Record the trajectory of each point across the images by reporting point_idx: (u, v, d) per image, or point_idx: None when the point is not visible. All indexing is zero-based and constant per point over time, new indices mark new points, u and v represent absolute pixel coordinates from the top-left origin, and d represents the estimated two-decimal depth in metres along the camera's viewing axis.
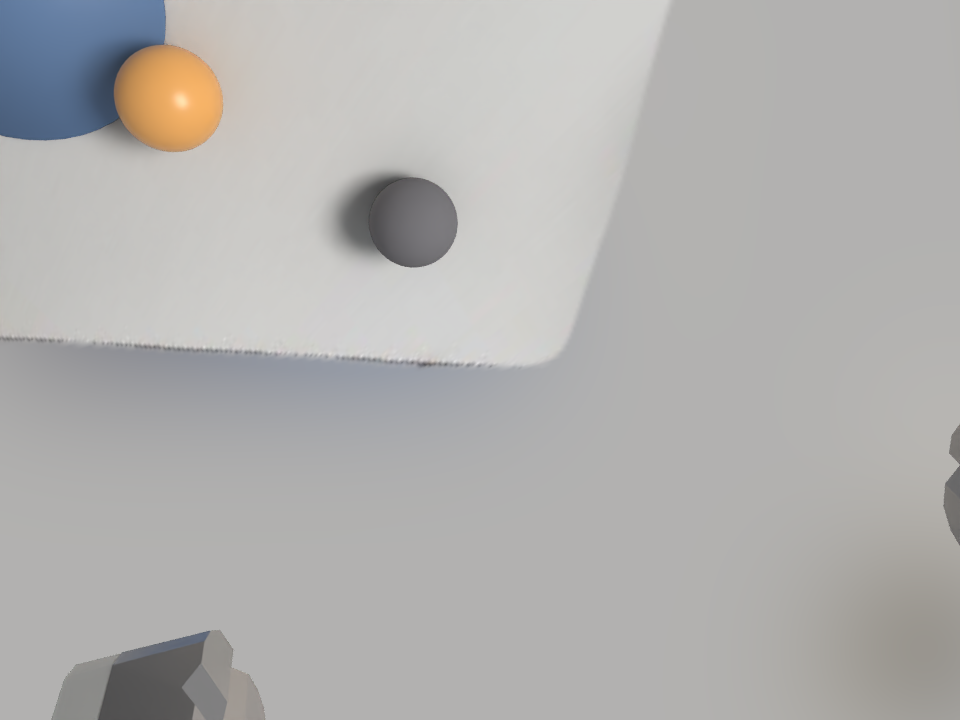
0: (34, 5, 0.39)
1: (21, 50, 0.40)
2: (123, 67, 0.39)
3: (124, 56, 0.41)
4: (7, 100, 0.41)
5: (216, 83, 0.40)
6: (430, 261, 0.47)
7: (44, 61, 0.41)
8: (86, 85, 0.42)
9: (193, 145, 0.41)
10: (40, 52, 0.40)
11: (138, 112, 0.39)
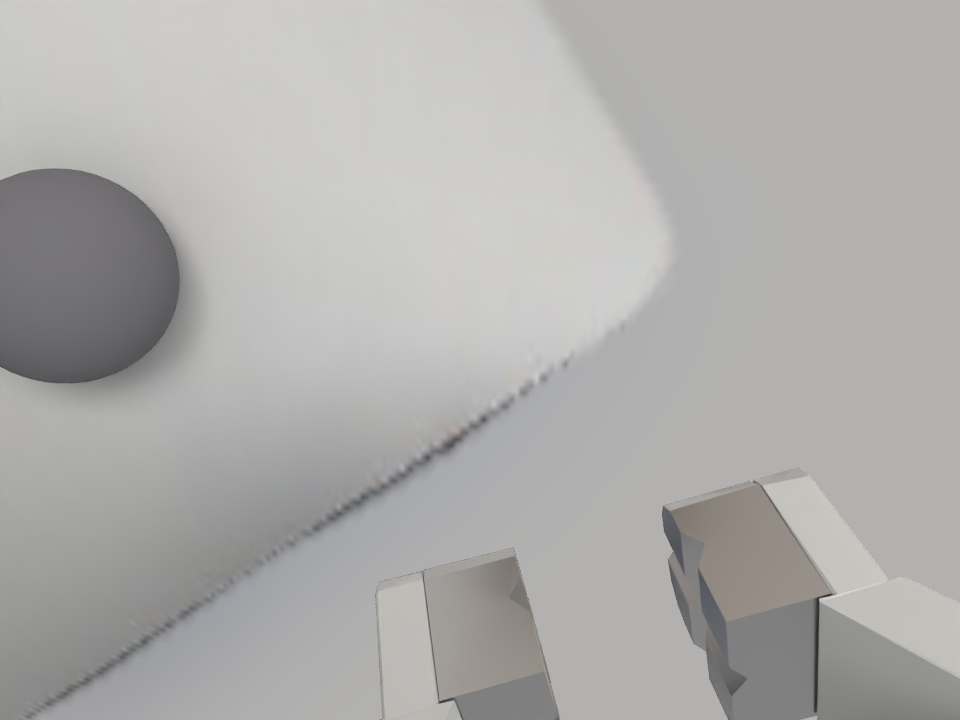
0: None
1: None
2: None
3: None
4: None
5: None
6: (122, 331, 0.18)
7: None
8: None
9: None
10: None
11: None
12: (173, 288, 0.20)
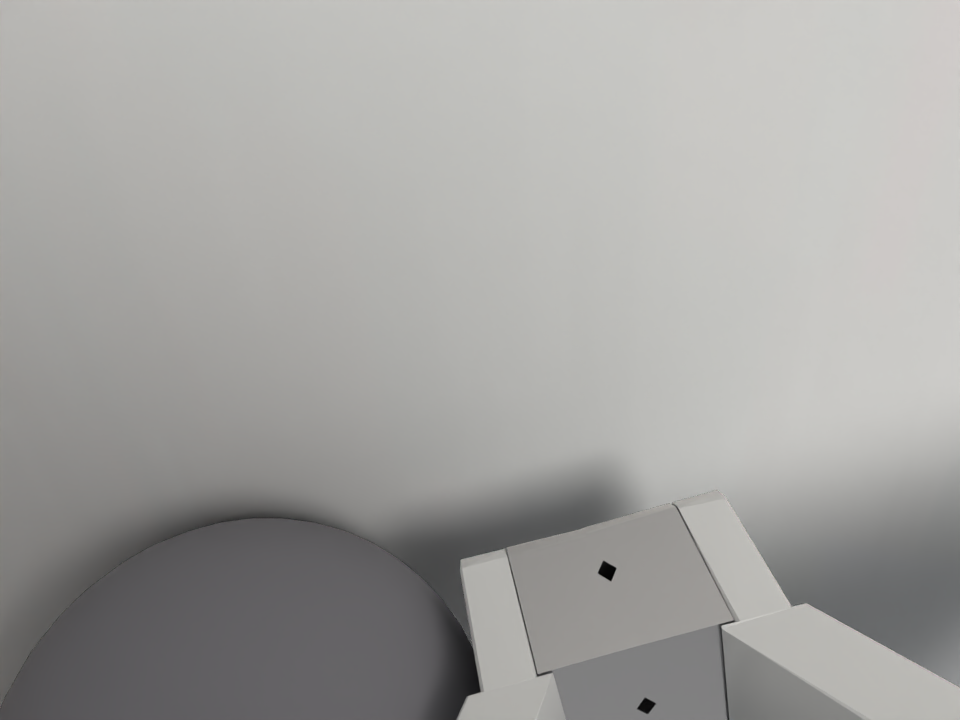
0: None
1: None
2: None
3: None
4: None
5: None
6: None
7: None
8: None
9: None
10: None
11: None
12: None
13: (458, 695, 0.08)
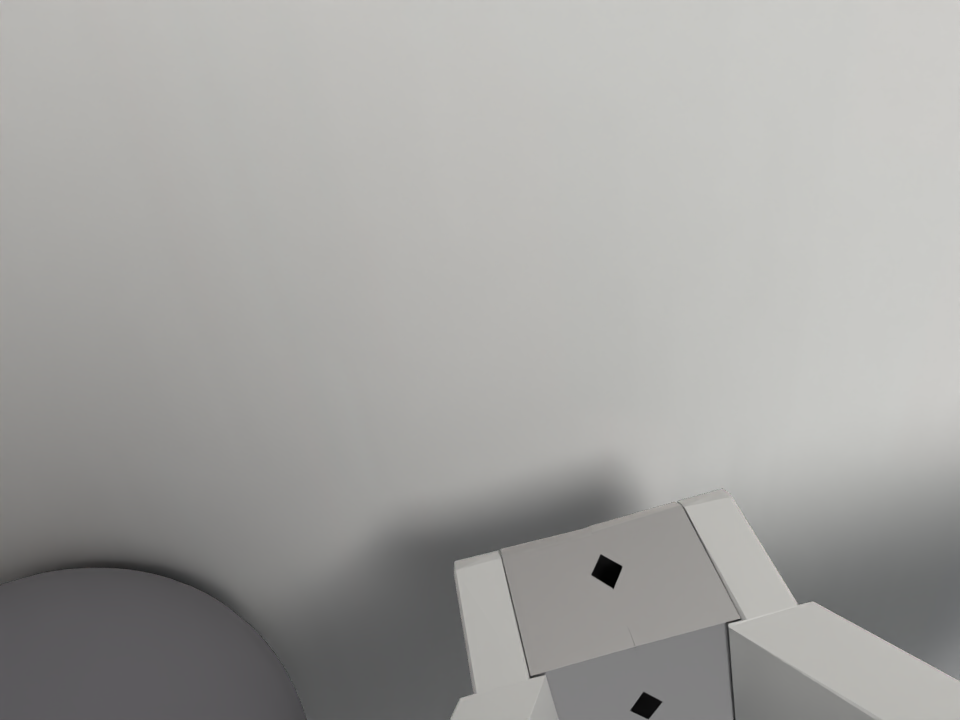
0: None
1: None
2: None
3: None
4: None
5: None
6: None
7: None
8: None
9: None
10: None
11: None
12: None
13: None
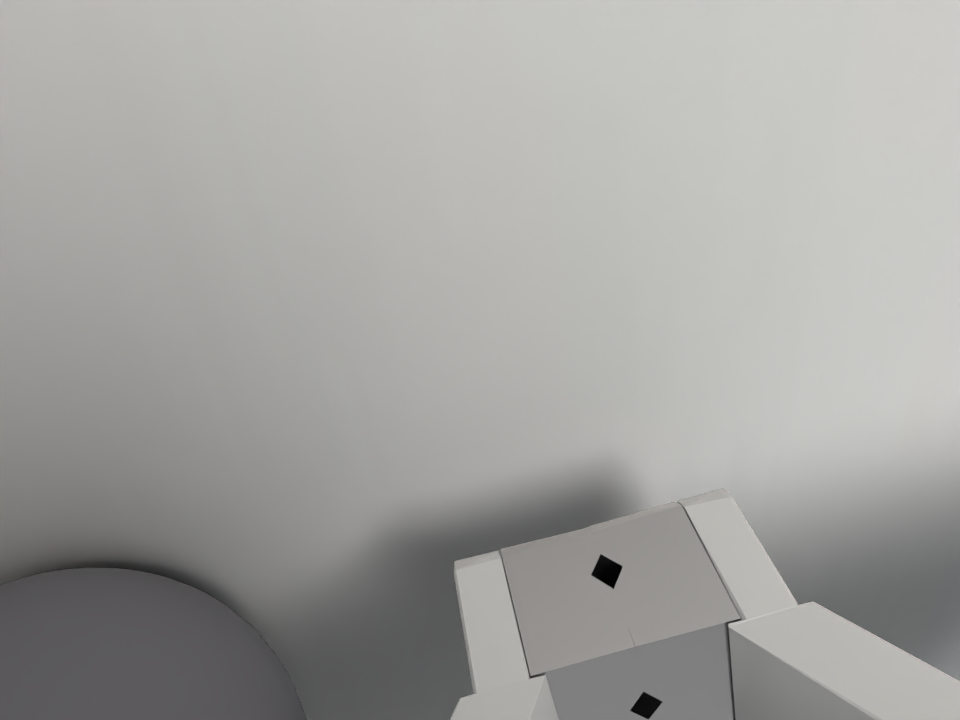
0: None
1: None
2: None
3: None
4: None
5: None
6: None
7: None
8: None
9: None
10: None
11: None
12: None
13: None
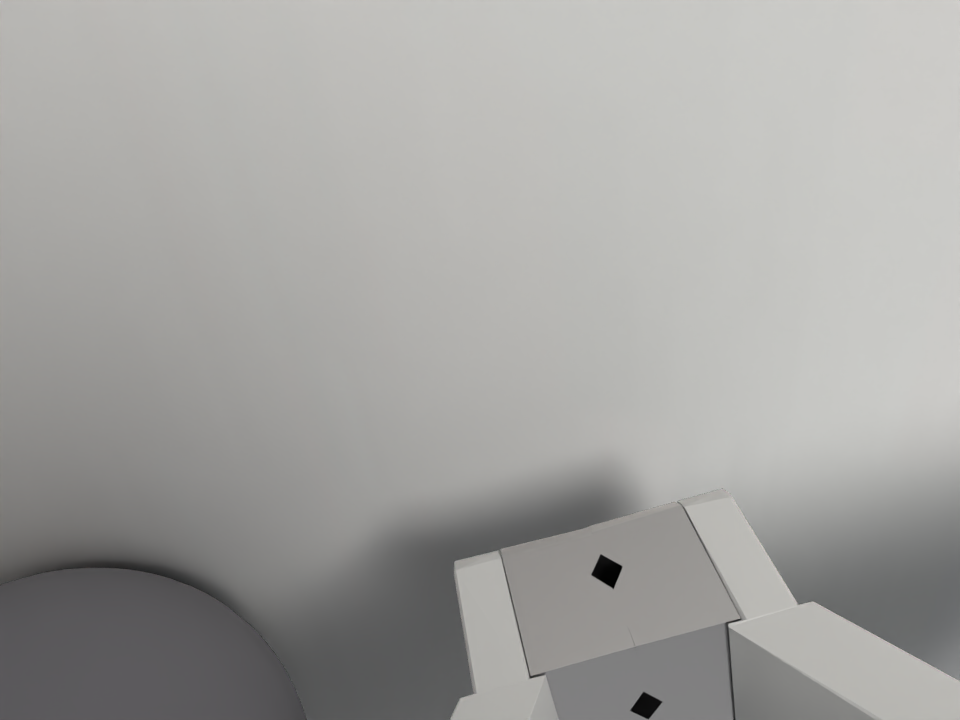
0: None
1: None
2: None
3: None
4: None
5: None
6: None
7: None
8: None
9: None
10: None
11: None
12: None
13: None
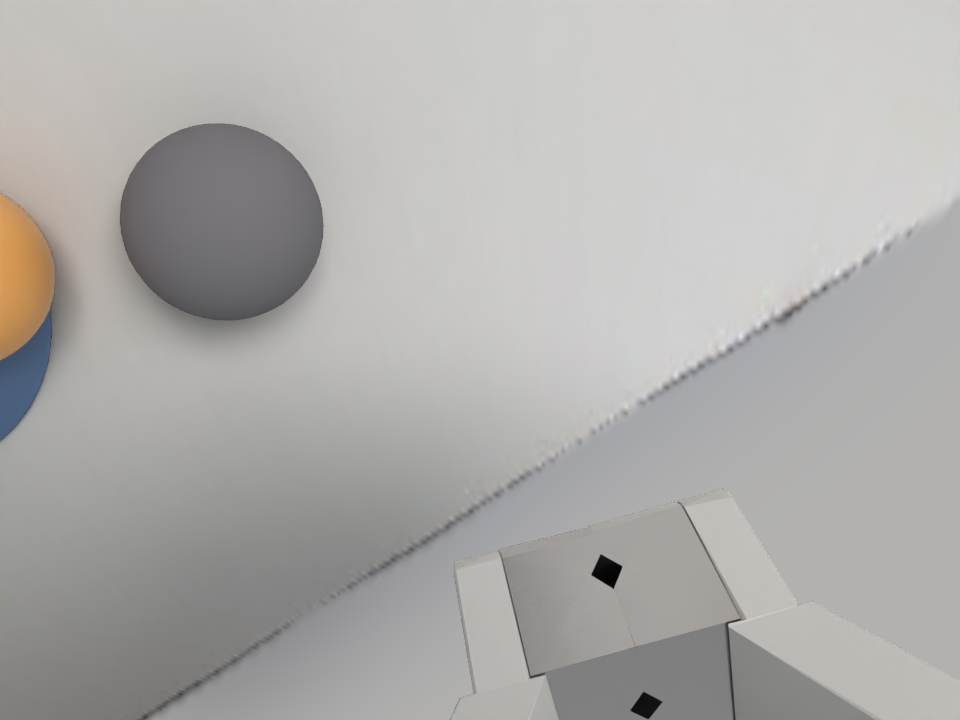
0: None
1: None
2: None
3: None
4: None
5: None
6: None
7: None
8: None
9: None
10: None
11: None
12: None
13: (171, 243, 0.19)
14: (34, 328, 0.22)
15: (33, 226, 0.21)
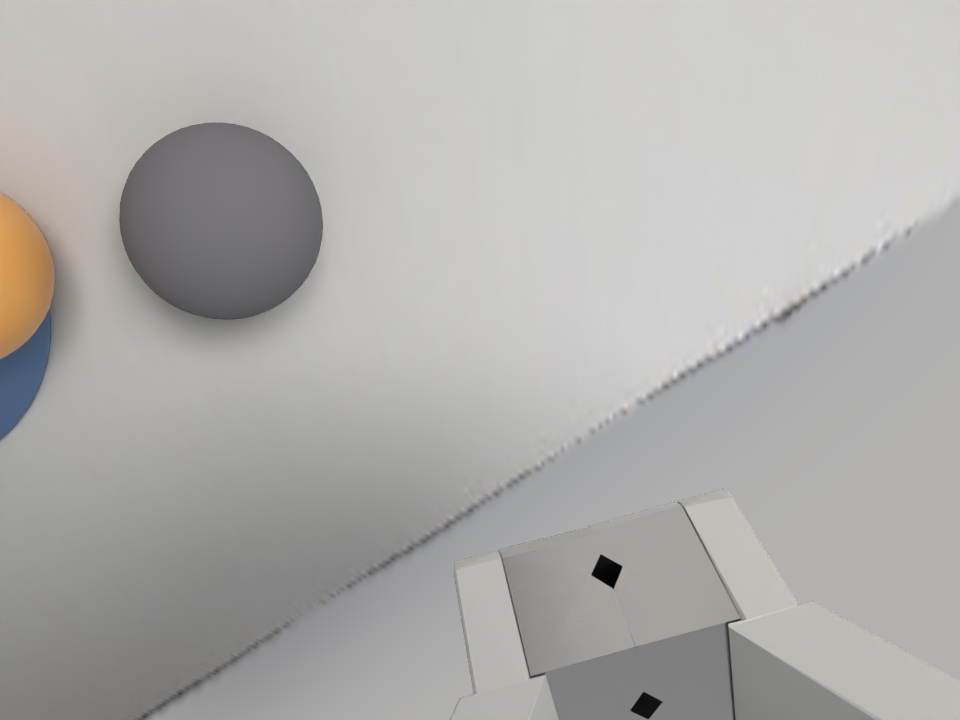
0: None
1: None
2: None
3: None
4: None
5: None
6: None
7: None
8: None
9: None
10: None
11: None
12: None
13: (171, 242, 0.19)
14: (34, 327, 0.22)
15: (32, 225, 0.21)
